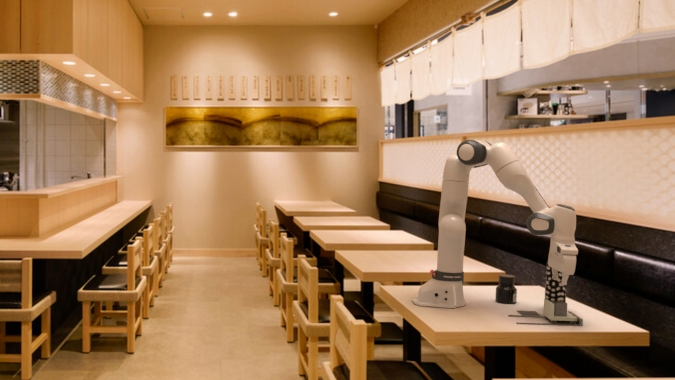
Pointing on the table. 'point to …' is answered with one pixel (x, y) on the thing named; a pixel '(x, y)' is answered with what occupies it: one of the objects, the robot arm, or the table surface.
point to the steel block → (560, 308)
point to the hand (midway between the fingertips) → (559, 282)
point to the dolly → (550, 315)
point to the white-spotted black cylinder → (554, 286)
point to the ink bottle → (506, 290)
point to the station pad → (529, 313)
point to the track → (578, 323)
